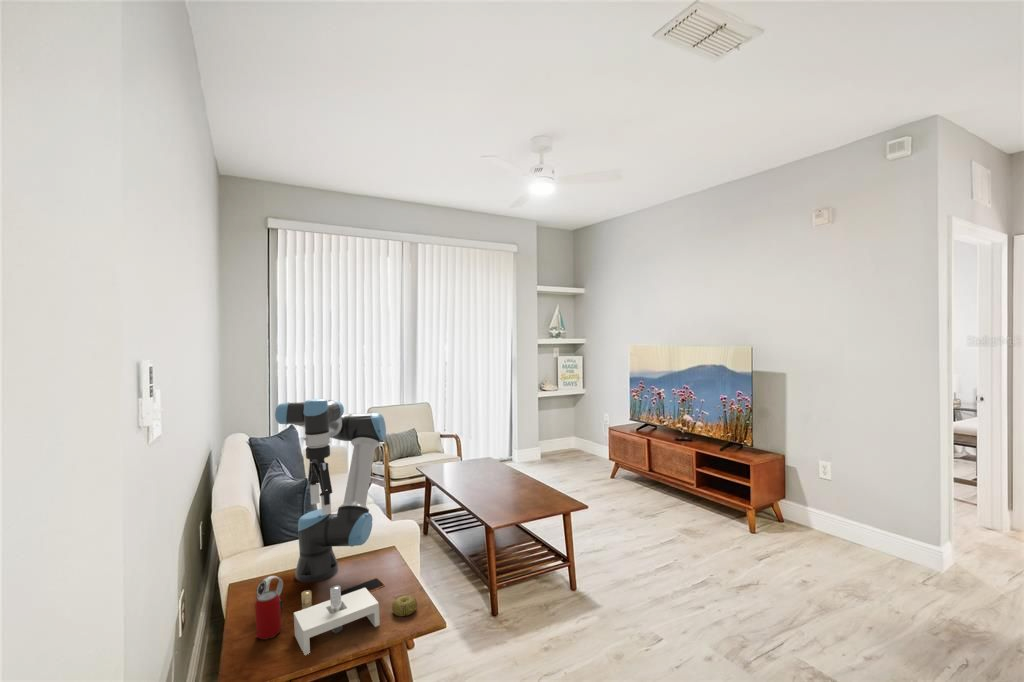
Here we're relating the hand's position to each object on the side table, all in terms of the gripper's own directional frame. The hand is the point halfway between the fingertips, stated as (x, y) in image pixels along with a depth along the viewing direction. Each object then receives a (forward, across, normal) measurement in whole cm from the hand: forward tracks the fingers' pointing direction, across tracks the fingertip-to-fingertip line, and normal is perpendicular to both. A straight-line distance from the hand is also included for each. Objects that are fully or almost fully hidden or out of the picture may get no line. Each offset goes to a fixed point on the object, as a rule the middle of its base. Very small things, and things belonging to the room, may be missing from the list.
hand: (320, 508), depth 161 cm
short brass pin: (+33, +1, -6) cm, 33 cm away
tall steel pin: (+33, +17, -1) cm, 37 cm away
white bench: (+33, +17, -1) cm, 37 cm away
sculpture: (+33, +21, +19) cm, 44 cm away
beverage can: (+33, +5, -18) cm, 38 cm away
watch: (+33, -9, -15) cm, 37 cm away
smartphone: (+33, -2, +12) cm, 35 cm away
